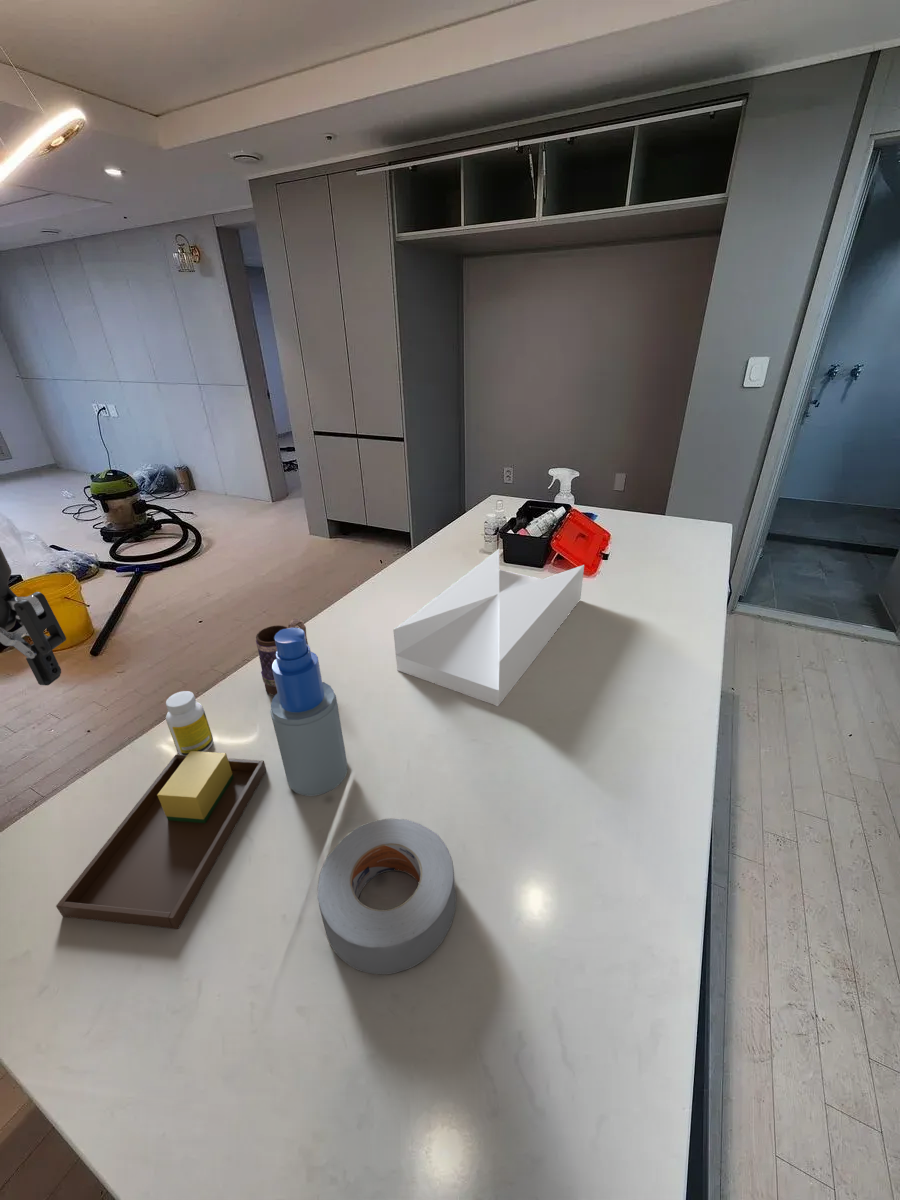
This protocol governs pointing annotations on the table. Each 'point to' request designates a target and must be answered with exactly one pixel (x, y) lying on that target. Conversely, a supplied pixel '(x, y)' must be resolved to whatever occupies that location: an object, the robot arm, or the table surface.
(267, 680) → the mug
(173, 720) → the supplement bottle
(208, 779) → the sponge
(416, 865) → the tape roll
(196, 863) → the tray
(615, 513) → the table surface
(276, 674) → the spray bottle
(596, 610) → the table surface
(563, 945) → the table surface
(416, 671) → the building model
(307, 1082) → the table surface
